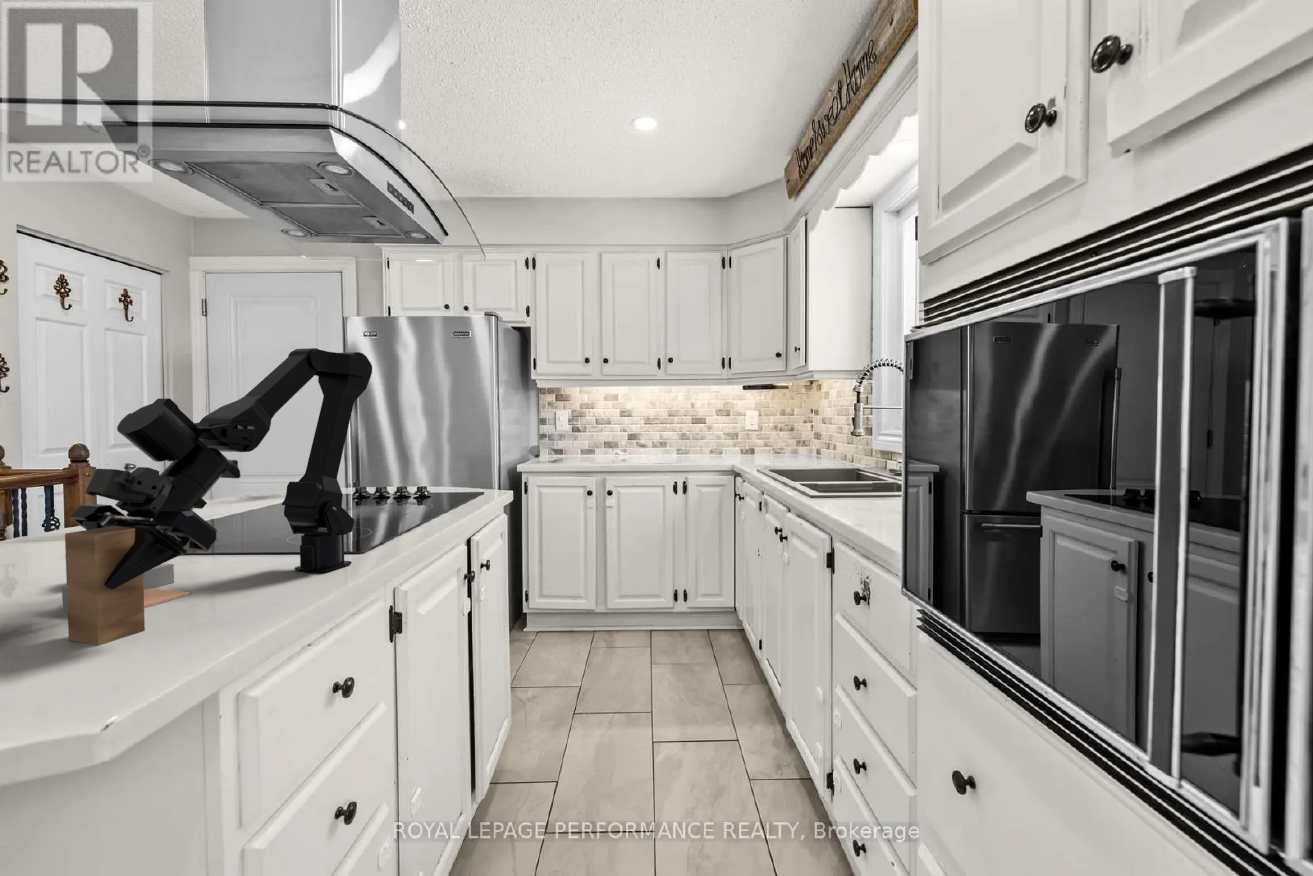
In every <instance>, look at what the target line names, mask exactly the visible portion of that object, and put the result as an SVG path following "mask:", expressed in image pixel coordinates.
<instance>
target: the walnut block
mask: <svg viewBox="0 0 1313 876" xmlns="http://www.w3.org/2000/svg"><path fill="white" fill-rule="evenodd" d="M134 541H135V528H132V527H121V526H109V527H103V528H97V529H90V530H86V529H84V530H79V531H73V532H66V533H64V544H65V545H64V546H65V549H64V550H65V569H66V570H65V571H66V572H65V573H66V574H65V576H66V577H65V578H66V587H67V605H68V610H67V629H68V641H70V642H76V643H83V644H89V645H94V646H101V645H104V644H107V643H110V642H113V641H116V640H119V639H122V638H125V637H128V636H131V635H135V634H138V633H141V632H145V630H146V625H145V622H146V621H145V608H144V586H143V574H141V575H139V576H137V577H135V578H134V579H132V580H130V581H128V582H126V583H124V584H122V585H120V586H119V587H117V588H115V589H110V588H108V587H106V586H105V582H106V581H107V579H108V578H109V576H110V575H111V573H112V572H113V570H114V569H115V568H116V566H117V565H118V564H119V562H120V561H121V560H122V558H123V557H124V556H125V555H126V553H127V552H128V551H129V549H130V548H131V547H132V545H133V544H134Z"/></svg>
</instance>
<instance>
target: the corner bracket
mask: <svg viewBox="0 0 1313 876" xmlns="http://www.w3.org/2000/svg"><path fill="white" fill-rule="evenodd" d="M174 567H175V565H174V564H173V563H163V564H161V565H159V566H157V567H155V568H153V569H151V570H149V571H147V572H145V573H143V586H144V590H145V589H149V588H153V589H156V588H159V587H163V586H167V585H170V584H174V583H175V570H174V569H175V568H174ZM61 596H62V597H61V598H62V599H61V600H62V603H61V604H62V610H67V611H68V605H67V586H64V587H62V588H61Z"/></svg>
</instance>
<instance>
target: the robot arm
mask: <svg viewBox="0 0 1313 876" xmlns="http://www.w3.org/2000/svg"><path fill="white" fill-rule="evenodd" d="M372 374H373V365H372V363H371V361H370V360H369V358H368V356H367V355H366V354H364V353H363V352H360V351H359V352H358V351H357V352H354V351H351V352H348V351H347V352H335V351H333V352H332V351H327V350H324V349H319V348H317V347H314V348H313V347H311V348H295V349H294V350H292V351H290V353H289V354H288V356H287V357H286V359H284V360H283V361H282V362H281V363H280V364H278V365H277V367H275V368H274V369H273V370H272V371H271V372H269V374H267V376H265V377H264V378H263V379H262V380H261V381H260V382H258V384H256V385H255V386H254V387H253V388H252V389H251V390H250V391H249V392H248V393H246V394H245V395H244V396H243V397H241V398H239V399H238V400H235V401H233V402H229V403H227V404H224V405H222V406H219V408H217V409H215V410H214V411H211V412H210V413H208V414H206V415H205V416H204V417H202V418H201V419H200V421H199V422H194V421H193V420H192V419H190V418H189V417H188V415H186V414H185V413H184V412H183V411H182V410H181V409H180V407H179V406H178V405H177V403H175V402H174V400H172V398H156V400H154V401H153V403H150V404H147V405H145V406H142V407H140V408H138V409H136V410H135V411H133V412H131V413H128V414H126V415H125V416H124V417H123V418H122V419H121V420H120V422H119V423H118V424H117V427H116V431H117V432H118V433H119V434H120V435H122V436H123V437H124V438H125V439H127V440H128V441H129V442H130V443H131V444H133V445H134V447H136V448H137V449H139V450H140V451H141V452H142V453H143V454H144V455H146V456H147V457H149V458H150V459H151V460H152V461H153V462H157V463H160V462H166V461H167V462H171V463H169V465H167V467H166V468H164V470H163V471H162V472H161V473H160V471H159V470H157V469H154V468H152V467H142V466H139V467H136V468H135V469H134V470H133V471H132V472H131V471H129V470H121V469H115V468H114V469H112V468H96V469H95V470H94V472H93V475H92V477H91V479H90V480H89V483H88V484H87V486H86V489H85V490H84V493H85V494H86V495H89V496H99V497H102V498H107V499H110V500H113V501H117V502H116V504H115V506H116V507H117V508H118V509H120V510H121V511H125V513H126V515H125V514H124V513H122V512H121V511H120V510H118V509H117V508H116V507H114V506H113V505H111V504H100V503H89V504H82V505H79V506H78V507H77V508H76V510H75V511H73V512H72V514H70V515H69V519H70V520H71V521H72V522H73V523H76V524H77V525H78V526H80V527H82V528H83V529H84V530H90V529H97V528H103V527H109V526H121V527H132V528H135V541H134V544H133V545H132V547H131V548H130V549H129V551H128V552H127V553H126V555H125V556H124V557H123V558H122V560H121V561H120V562H119V564H118V565H117V566H116V568H115V569H114V570H113V572H112V573H111V575H110V576H109V578H108V579H107V581H106V582H105V586H106V587H108V588H110V589H115V588H117V587H119V586H120V585H122V584H124V583H126V582H128V581H130V580H132V579H134V578H135V577H137V576H139V575H141V574H143V573H145V572H147V571H149V570H151V569H153V568H155V567H157V566H159V565H162V564H166V563H168V562H169V561H171V560H173V559H175V558H177V557H180V556H184V555H186V554H187V553H188V550H187V549H185V547H186V545H187V544H188V548H189V549H190V550H191V551H196V552H206V553H207V552H209V551H210V549H211V548H212V547H213V545H214V544H215V543H216V542H217V541H218V529H216V528H215V527H214V526H212V524H211V523H209V522H208V521H206V520H205V519H204V518H203V517H202V516H200V515H199V514H197V512H195V511H194V509H199V510H200V509H201V510H203V509H204V507H206V505H207V504H208V502H207V501H206V500H205V499H204V497H205V496H206V494H208V492H209V491H210V490H211V489H212V487H214V485H216V483H217V482H218V481H219V480H220V478H223V479H240V478H241V470H240V468H239V464H238V463H239V461H238V460H237V459H228V458H227V457H226V456H225V455H224V454H223V453H224V452H225V453H226V452H227V453H228V452H229V453H231V452H232V453H249V452H252V451H254V450H255V449H257V448H258V447H259V445H260V444H261V443H262V441H263V440H264V439H265V437H266V436H267V434H268V433H269V432H270V430H271V425H272V419H273V418H274V416H275V415H276V414H277V413H278V412H279V411H280V410H281V409H282V408H283V407H284V406H285V405H286V404H287V403H288V402H289V401H290V400H291V399H292V398H293V397H294V396H295V395H296V394H297V393H298V392H300V390H301V389H302V388H303V387H304V386H305V385H306V384H308V382H309V381H311V380H312V378H314V376H315V377H318V378H317V382H318V385H319V387H320V390H321V392H322V395H323V397H322V403H321V406H320V410H319V416H318V419H317V422H316V428H315V432H314V435H313V440H312V444H311V448H310V452H309V455H308V460H307V465H306V469H305V473H304V474H303V475H302V476H301V478H300V479H299V480H298V481H289V482H288V483H287V486H286V492H285V493H286V494H285V497H284V499H283V501H282V503H281V505H282V506H284V509H283V515H284V517H285V518H286V520H287V522H288V524H289V527H290V530H291V532H292V534H293V535H301V536H300V539H301V543H300V545H299V561H300V563H299V565H298V566H295V567H294V571H299V572H300V571H301V572H311V573H322V574H323V573H327V572H331V571H333V570H337V569H340V568H343V567H346V566H349V565H352V561H351V560H345V535H347V534H348V533H353V529H354V526H355V519H354V518H353V517H352V516H351V514H349V513H348V512H347V511H346V510H345V509H344V508H343V506H342V504H343V492H342V489H341V487H340V484H339V480H338V474H339V469H340V466H341V461H342V458H343V457H342V456H343V453H344V448H345V444H346V439H347V435H348V430H349V426H350V421H351V416H352V411H353V409H354V404H355V402H356V400H357V399H359V398H360V397H361V395H362V394H363V393H364V392H365V391H366V390H367V387H368V385H369V382H370V380H371V377H372ZM222 452H223V453H222Z"/></svg>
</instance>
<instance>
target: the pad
mask: <svg viewBox="0 0 1313 876" xmlns="http://www.w3.org/2000/svg"><path fill="white" fill-rule="evenodd" d="M185 596H190V592H189V591H178V590H171V589H162V588H161V589H160V588H149V589H145V590H144V609H145V608H148V607H152V606H154V605H158V604H163V603H165V602H169V601H172V600H175V599H179V598H182V597H185Z"/></svg>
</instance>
